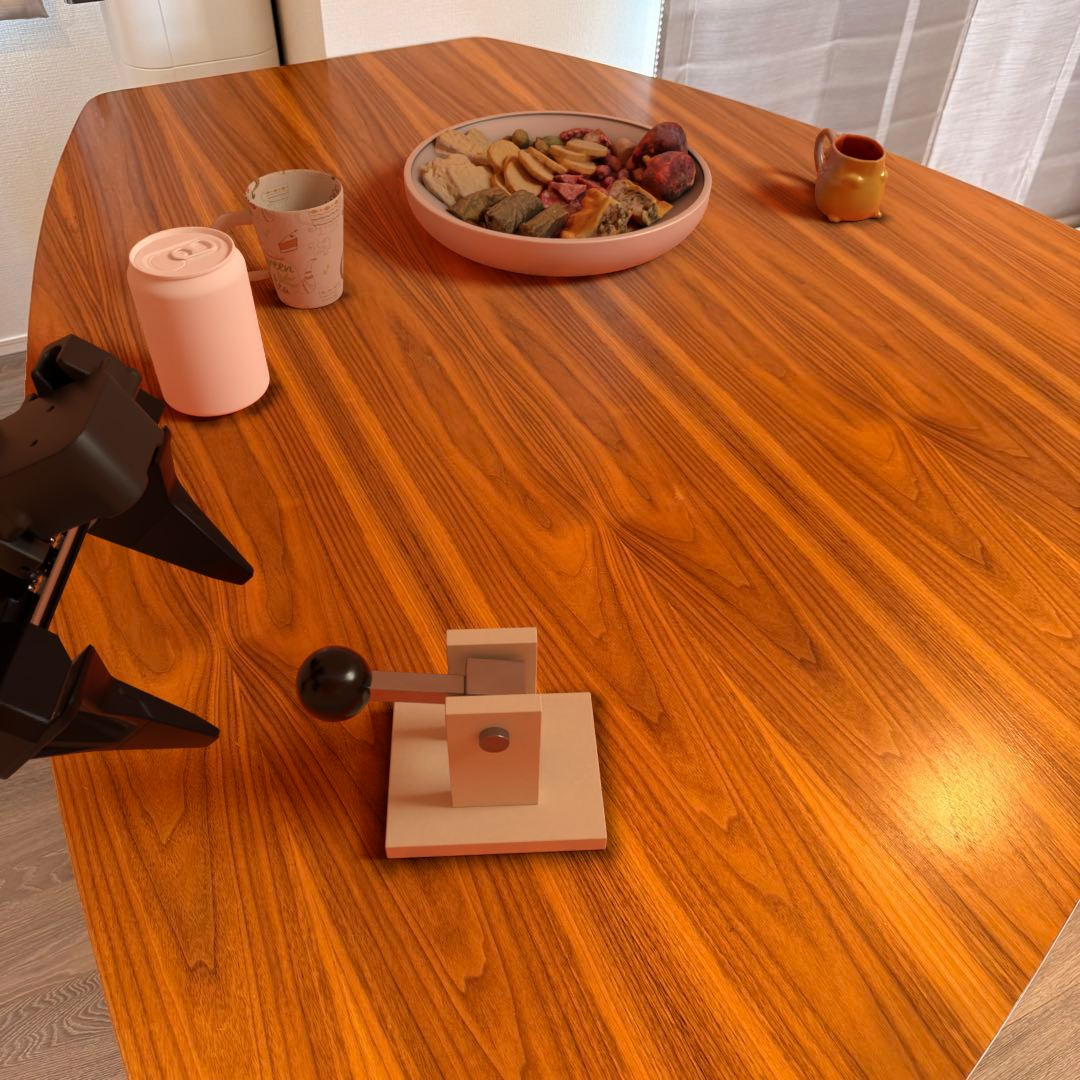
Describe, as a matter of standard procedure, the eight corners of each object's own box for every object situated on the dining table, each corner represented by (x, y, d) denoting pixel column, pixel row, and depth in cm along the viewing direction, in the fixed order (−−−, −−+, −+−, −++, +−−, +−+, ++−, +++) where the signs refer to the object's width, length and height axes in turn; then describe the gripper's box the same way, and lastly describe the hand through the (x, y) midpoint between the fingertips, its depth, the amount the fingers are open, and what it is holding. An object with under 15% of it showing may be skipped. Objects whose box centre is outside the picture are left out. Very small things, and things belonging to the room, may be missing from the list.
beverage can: (144, 391, 76) (98, 250, 68) (232, 350, 80) (199, 212, 72) (203, 437, 72) (162, 292, 64) (292, 391, 76) (264, 250, 68)
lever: (291, 736, 45) (290, 689, 43) (300, 674, 48) (299, 627, 45) (517, 745, 47) (529, 701, 45) (515, 685, 50) (525, 640, 47)
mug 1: (361, 309, 85) (348, 206, 78) (220, 327, 83) (194, 221, 76) (349, 265, 91) (336, 165, 84) (216, 281, 88) (192, 178, 82)
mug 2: (889, 222, 99) (908, 158, 94) (826, 227, 98) (841, 162, 93) (843, 172, 107) (858, 111, 103) (784, 176, 106) (797, 114, 102)
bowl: (472, 320, 84) (469, 236, 79) (369, 180, 104) (361, 104, 98) (763, 256, 93) (779, 176, 88) (619, 139, 113) (624, 67, 107)
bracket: (386, 859, 49) (367, 755, 42) (395, 710, 55) (380, 600, 48) (605, 849, 49) (619, 745, 43) (589, 704, 56) (599, 594, 49)
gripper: (-171, 532, 25) (321, 754, 33) (49, 204, 38) (362, 421, 47) (-308, 721, 30) (148, 873, 38) (-72, 374, 43) (229, 543, 52)
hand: (233, 652), depth 44 cm, fingers open, 9 cm apart
